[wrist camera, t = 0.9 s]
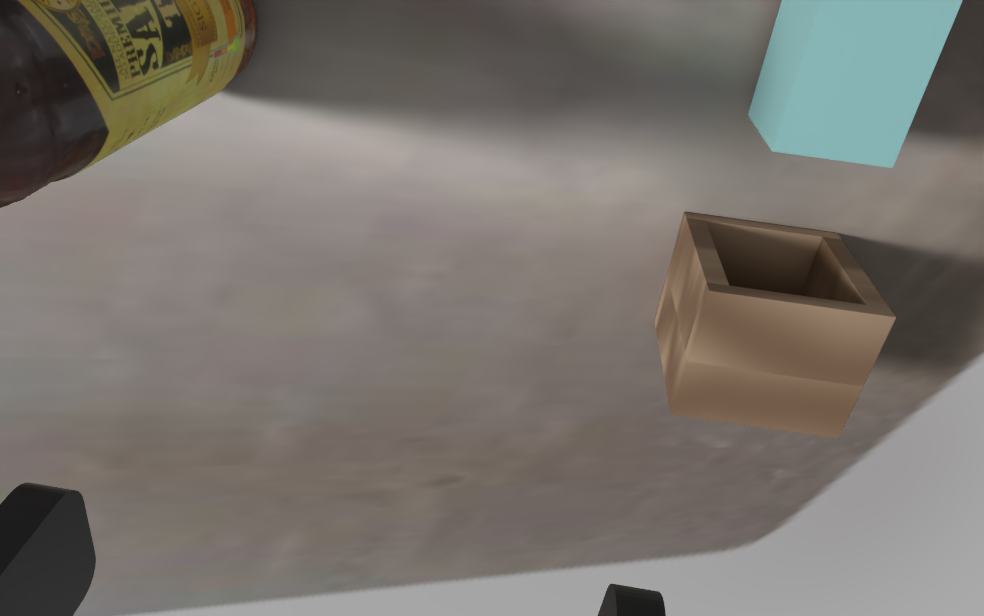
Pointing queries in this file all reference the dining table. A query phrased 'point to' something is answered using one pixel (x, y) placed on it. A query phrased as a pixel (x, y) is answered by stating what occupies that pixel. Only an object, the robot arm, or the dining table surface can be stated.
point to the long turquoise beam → (848, 76)
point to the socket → (767, 325)
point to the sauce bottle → (105, 77)
